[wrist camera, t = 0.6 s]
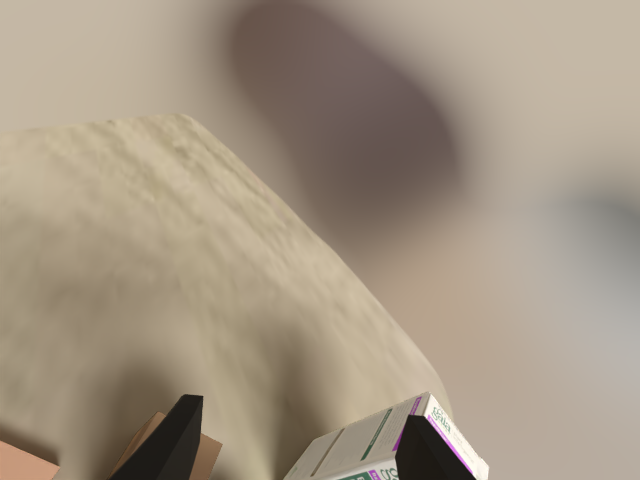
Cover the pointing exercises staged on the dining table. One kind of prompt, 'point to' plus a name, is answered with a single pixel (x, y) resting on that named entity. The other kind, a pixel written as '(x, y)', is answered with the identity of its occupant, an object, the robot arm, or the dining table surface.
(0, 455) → the terracotta tile
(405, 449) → the robot arm
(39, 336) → the dining table surface
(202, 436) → the walnut block
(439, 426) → the syrup box
